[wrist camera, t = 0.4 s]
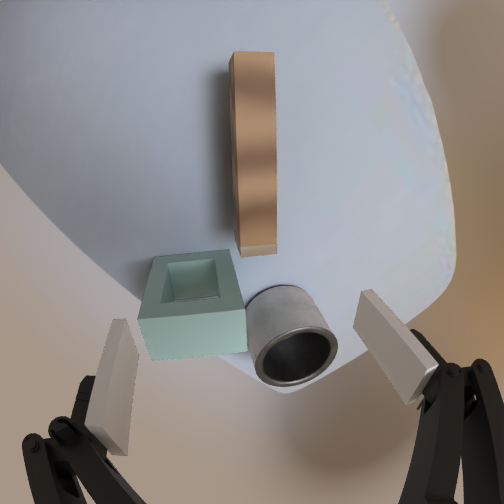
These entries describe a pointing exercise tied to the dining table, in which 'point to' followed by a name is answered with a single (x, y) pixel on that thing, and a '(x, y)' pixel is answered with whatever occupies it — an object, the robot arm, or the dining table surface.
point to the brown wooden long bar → (254, 151)
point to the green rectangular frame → (193, 307)
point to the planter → (288, 337)
